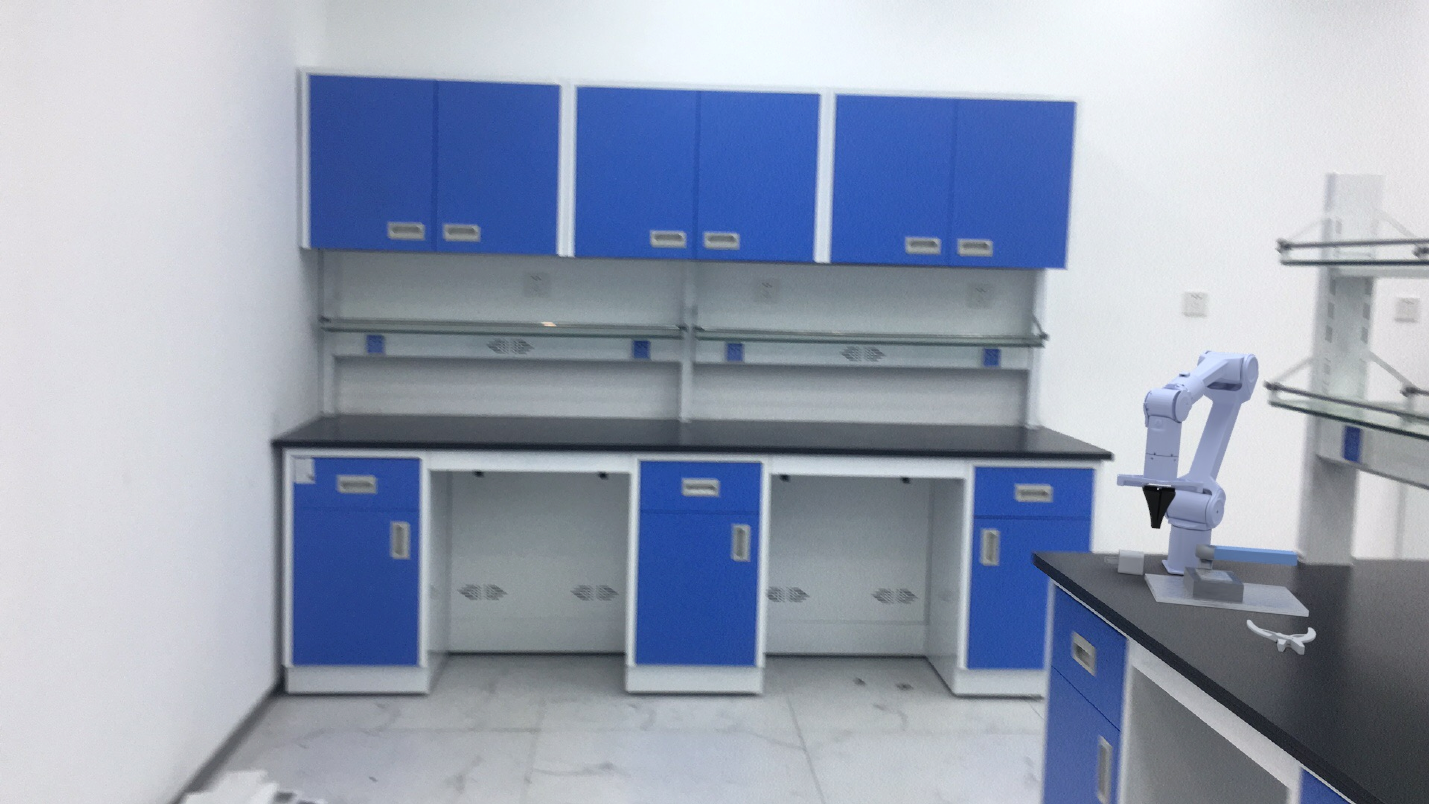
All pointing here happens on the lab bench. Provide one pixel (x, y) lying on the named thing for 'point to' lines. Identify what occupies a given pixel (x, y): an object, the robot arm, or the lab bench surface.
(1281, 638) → the pliers
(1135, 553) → the usb wall charger
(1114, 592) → the lab bench surface
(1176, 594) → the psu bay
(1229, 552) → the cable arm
